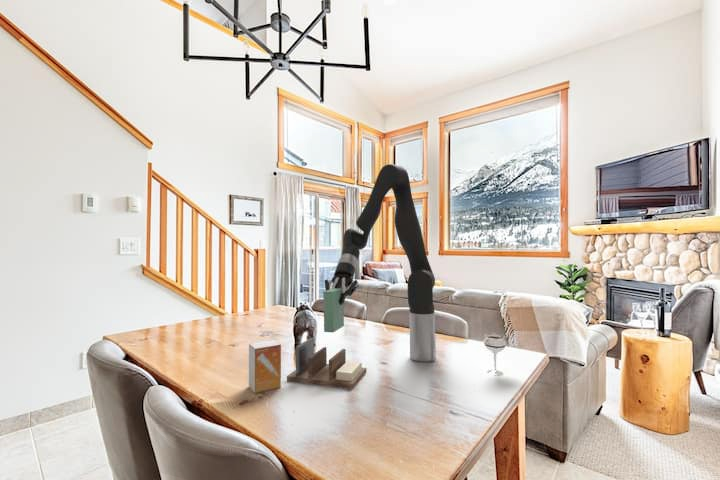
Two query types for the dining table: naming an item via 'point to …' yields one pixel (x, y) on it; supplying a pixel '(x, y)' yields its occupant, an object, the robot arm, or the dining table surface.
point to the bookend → (304, 355)
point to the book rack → (325, 371)
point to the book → (333, 310)
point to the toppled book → (349, 371)
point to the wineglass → (495, 348)
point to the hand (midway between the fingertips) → (335, 303)
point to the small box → (264, 366)
